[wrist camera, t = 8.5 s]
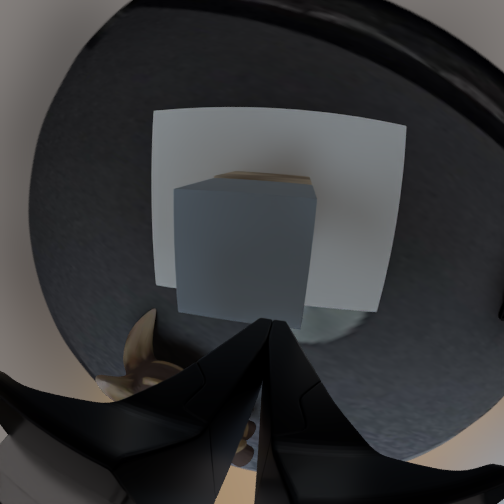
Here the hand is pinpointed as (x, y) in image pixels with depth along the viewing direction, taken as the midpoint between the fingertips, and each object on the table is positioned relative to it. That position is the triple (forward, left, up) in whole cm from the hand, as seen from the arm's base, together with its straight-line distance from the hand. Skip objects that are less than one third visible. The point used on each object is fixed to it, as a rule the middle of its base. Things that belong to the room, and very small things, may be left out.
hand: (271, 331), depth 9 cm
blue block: (+2, -2, -7) cm, 7 cm away
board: (+2, -2, -12) cm, 12 cm away
